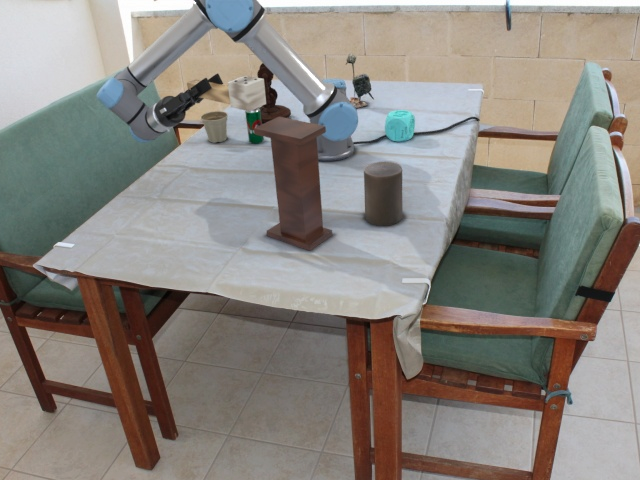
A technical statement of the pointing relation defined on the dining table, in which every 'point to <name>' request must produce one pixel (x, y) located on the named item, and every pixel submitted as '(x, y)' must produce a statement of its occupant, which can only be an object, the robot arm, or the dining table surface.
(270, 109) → the dark brown sculpture
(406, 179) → the dining table surface
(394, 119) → the decorative dice
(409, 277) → the dining table surface
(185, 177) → the dining table surface
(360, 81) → the plant with pod
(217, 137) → the flower pot
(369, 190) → the pillar candle
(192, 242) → the dining table surface
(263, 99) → the die stick
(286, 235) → the plant stand
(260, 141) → the soda can
